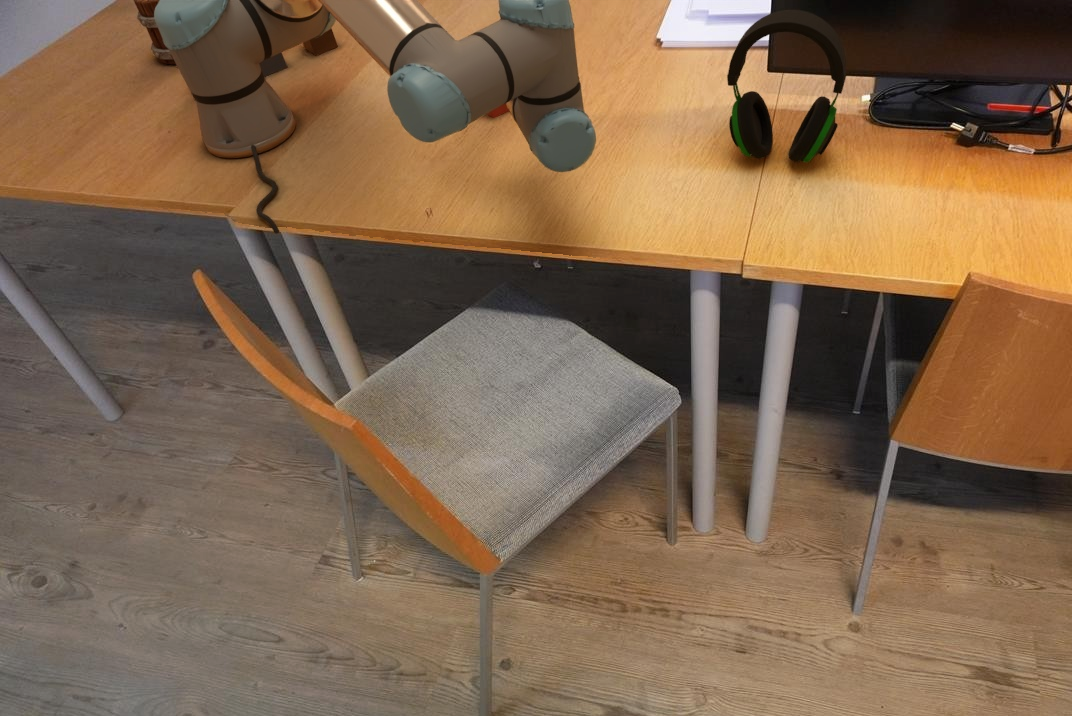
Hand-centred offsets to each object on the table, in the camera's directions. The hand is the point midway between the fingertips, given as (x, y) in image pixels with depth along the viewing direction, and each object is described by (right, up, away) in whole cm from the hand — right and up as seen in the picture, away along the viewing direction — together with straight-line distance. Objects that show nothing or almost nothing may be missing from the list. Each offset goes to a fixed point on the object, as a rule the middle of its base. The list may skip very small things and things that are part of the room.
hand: (491, 29), depth 112 cm
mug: (-69, +19, +48) cm, 86 cm away
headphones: (+42, -18, +1) cm, 46 cm away
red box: (-2, -4, +19) cm, 19 cm away
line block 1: (-48, +11, +38) cm, 62 cm away
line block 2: (-40, +16, +42) cm, 60 cm away
